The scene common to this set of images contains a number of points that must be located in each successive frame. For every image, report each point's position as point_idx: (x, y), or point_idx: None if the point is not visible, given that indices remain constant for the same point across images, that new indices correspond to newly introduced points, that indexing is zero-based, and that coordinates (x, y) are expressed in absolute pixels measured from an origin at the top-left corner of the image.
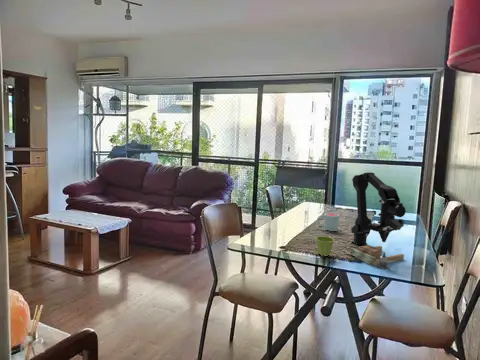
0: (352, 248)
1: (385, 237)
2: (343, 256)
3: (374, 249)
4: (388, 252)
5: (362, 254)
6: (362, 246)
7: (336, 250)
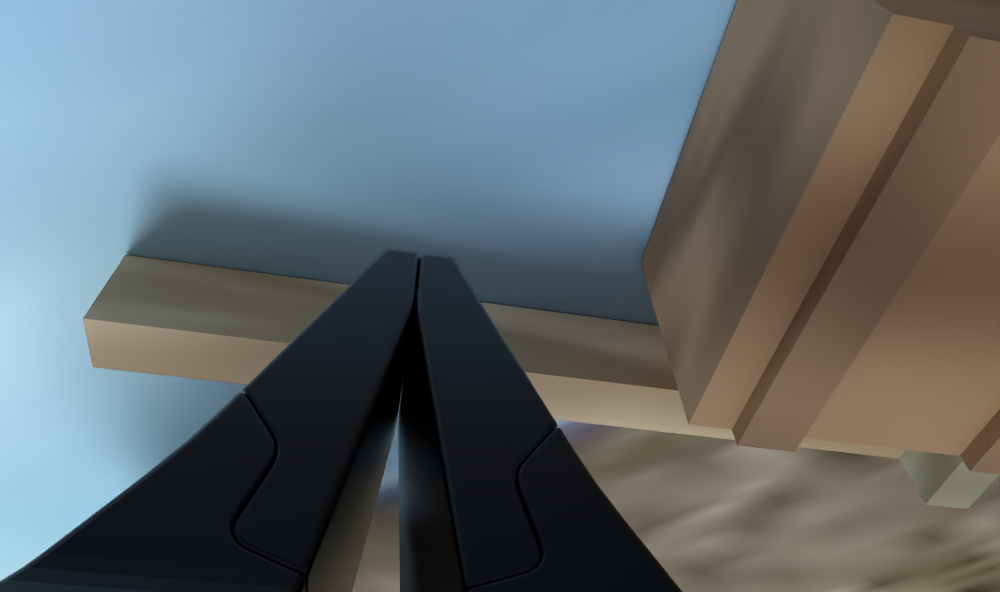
0: (952, 496)
1: (449, 379)
2: None
3: (997, 181)
4: (38, 131)
5: None
6: (996, 439)
7: (788, 570)
